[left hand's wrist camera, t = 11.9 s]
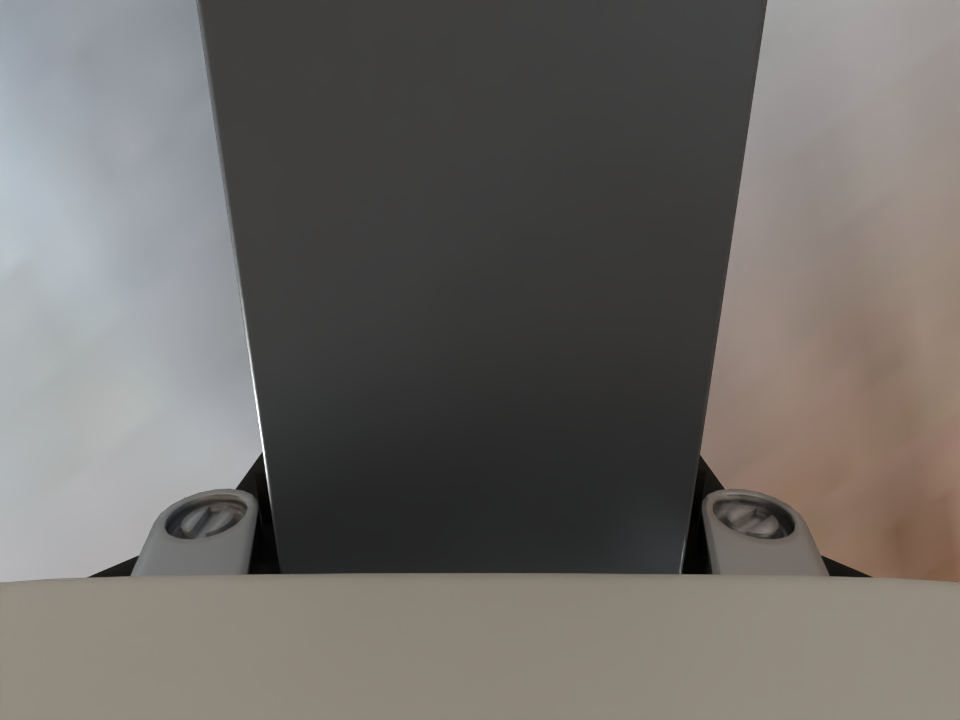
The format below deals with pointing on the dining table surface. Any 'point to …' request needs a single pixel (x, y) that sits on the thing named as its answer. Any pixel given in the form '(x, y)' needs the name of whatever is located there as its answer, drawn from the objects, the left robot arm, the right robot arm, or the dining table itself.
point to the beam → (481, 270)
